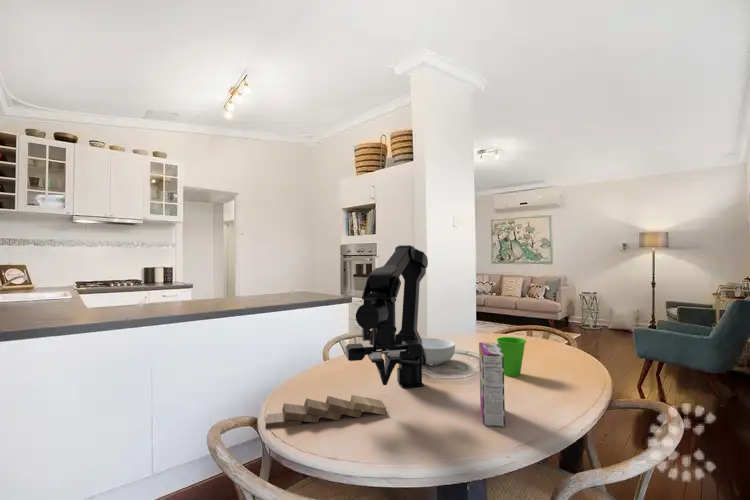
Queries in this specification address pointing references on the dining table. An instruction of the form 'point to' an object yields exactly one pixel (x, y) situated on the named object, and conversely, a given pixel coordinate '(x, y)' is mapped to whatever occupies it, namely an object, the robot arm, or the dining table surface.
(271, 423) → the domino
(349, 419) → the dining table surface
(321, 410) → the domino
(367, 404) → the domino
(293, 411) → the domino
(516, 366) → the cup
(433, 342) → the cereal bowl
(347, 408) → the domino
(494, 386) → the candy bar box
